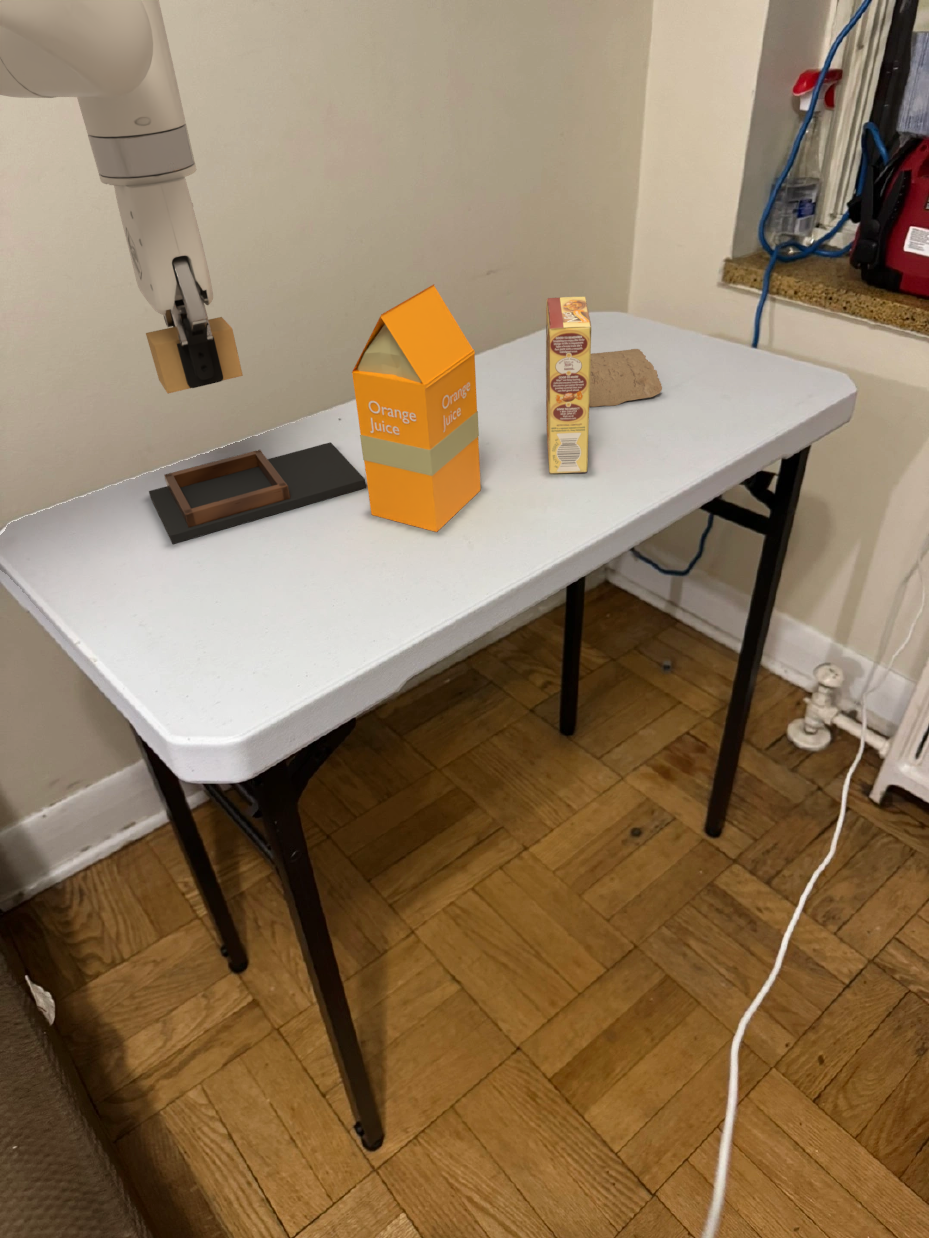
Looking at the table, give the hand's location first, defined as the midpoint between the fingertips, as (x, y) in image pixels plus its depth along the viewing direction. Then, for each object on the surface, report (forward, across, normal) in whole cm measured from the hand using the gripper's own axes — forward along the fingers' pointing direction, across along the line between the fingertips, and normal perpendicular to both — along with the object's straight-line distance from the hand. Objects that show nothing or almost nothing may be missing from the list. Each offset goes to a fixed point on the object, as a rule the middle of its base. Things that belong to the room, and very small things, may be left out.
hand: (199, 373), depth 80 cm
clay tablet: (+14, -4, +49) cm, 51 cm away
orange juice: (+14, +11, +17) cm, 24 cm away
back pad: (+14, 0, +3) cm, 14 cm away
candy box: (+14, +10, +34) cm, 38 cm away
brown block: (0, 0, 0) cm, 0 cm away
